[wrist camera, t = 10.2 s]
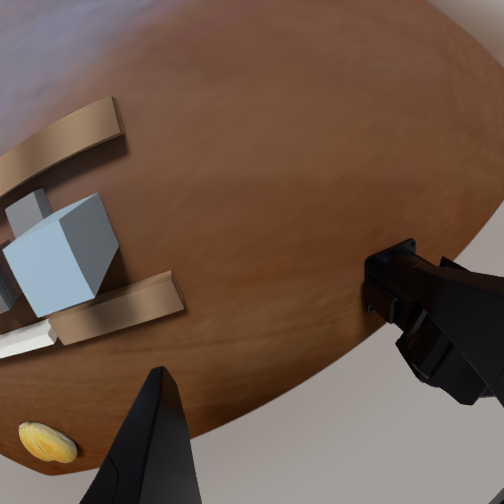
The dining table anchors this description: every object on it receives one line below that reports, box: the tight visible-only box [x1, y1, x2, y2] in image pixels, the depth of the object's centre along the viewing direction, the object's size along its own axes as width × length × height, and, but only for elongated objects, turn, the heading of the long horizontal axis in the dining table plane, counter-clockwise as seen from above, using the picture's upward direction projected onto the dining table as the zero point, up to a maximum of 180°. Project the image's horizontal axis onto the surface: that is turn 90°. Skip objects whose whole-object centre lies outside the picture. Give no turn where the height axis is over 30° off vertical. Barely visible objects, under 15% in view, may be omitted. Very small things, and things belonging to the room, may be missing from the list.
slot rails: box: [0, 96, 184, 345], centre depth 15 cm, size 11×15×2 cm
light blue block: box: [3, 188, 119, 318], centre depth 13 cm, size 7×8×7 cm
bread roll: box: [19, 422, 77, 463], centre depth 21 cm, size 8×9×4 cm
